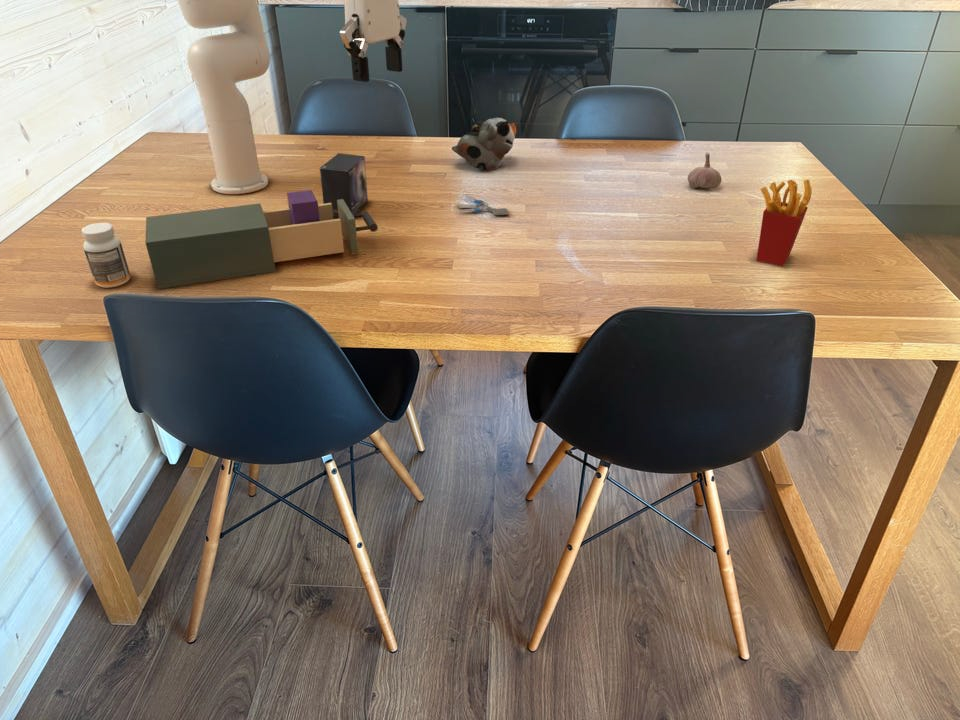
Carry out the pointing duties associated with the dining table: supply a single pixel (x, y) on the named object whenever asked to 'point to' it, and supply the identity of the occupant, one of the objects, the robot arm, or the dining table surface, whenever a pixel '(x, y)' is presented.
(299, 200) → the snack carton
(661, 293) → the dining table surface
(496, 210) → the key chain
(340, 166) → the small box
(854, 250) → the dining table surface
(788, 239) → the french fries
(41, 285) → the dining table surface
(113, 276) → the pill bottle
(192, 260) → the cabinet
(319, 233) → the drawer
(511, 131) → the lucky cat figurine
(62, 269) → the dining table surface
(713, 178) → the garlic bulb
